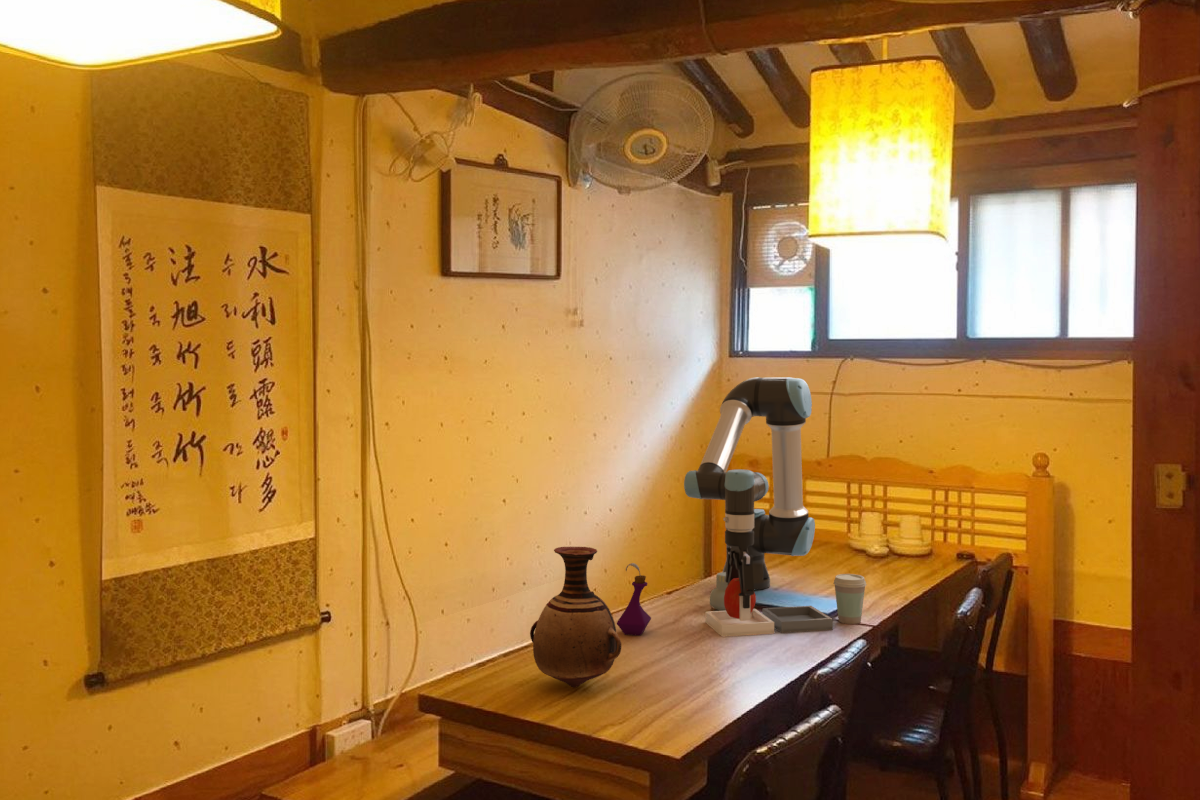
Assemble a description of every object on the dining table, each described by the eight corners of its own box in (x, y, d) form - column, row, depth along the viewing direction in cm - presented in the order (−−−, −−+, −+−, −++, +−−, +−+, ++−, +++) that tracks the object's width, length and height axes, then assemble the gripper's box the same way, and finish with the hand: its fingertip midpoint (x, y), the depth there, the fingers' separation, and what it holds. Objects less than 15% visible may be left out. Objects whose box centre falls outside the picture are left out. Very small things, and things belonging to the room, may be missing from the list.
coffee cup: (866, 626, 270) (867, 581, 269) (833, 624, 271) (833, 579, 271) (865, 617, 278) (865, 574, 278) (832, 616, 280) (833, 572, 279)
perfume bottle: (651, 630, 267) (651, 561, 266) (645, 638, 259) (644, 567, 259) (623, 628, 269) (623, 560, 268) (616, 635, 261) (616, 565, 261)
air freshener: (737, 615, 281) (737, 579, 281) (708, 613, 284) (708, 577, 284) (745, 606, 292) (745, 571, 291) (716, 603, 294) (716, 569, 294)
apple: (760, 615, 270) (760, 574, 269) (748, 622, 263) (748, 581, 262) (731, 611, 274) (731, 571, 274) (718, 618, 267) (718, 577, 266)
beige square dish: (705, 622, 274) (705, 611, 274) (755, 619, 277) (755, 608, 277) (722, 636, 260) (722, 625, 260) (774, 633, 263) (774, 622, 263)
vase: (511, 684, 224) (510, 548, 222) (572, 666, 236) (572, 537, 235) (579, 708, 209) (578, 562, 207) (640, 687, 221) (640, 549, 220)
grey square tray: (762, 619, 277) (762, 608, 277) (810, 616, 280) (811, 605, 280) (781, 633, 264) (781, 621, 263) (832, 629, 266) (832, 618, 266)
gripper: (713, 523, 277) (713, 606, 278) (739, 537, 256) (738, 627, 258) (739, 522, 278) (739, 605, 280) (767, 536, 258) (767, 625, 259)
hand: (739, 615), depth 269 cm, fingers closed on apple, 8 cm apart
